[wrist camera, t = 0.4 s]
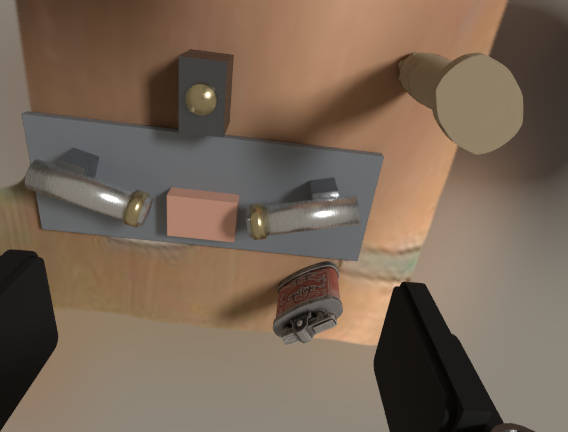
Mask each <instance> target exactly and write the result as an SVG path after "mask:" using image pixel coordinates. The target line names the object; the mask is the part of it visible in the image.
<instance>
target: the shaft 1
mask: <svg viewBox="0 0 568 432" xmlns="http://www.w3.org/2000/svg"><path fill="white" fill-rule="evenodd" d="M98 161H99V156H97V155H94V154H91V153H88V152H85V151H82V150H80V149H77V148H74V147H73V148H72V149H71V150H69V151H68V152H66V153H65V154H64V155H62V156H61V157H59V158H58V159H57V163H56V165H55V164H52V163H50V162H47V161H44V160H41V159H36V160H35V161H34V162H33V163H32V164H31V165H30V167H29V169H28V171H27V173H26V177H25V187H26V188H27V189H29V190H32V191H35V192H38V193H42V194H45V195H48V196H51V197H54V198H57V199H60V200H63V201H66V202H69V203H72V204H75V205H78V206H81V207H84V208H87V209H90V210H93V211H96V212H99V213H102V214H105V215H108V216H112V217H115V218H118V219H121V220H124V224H126V225H129V226H132V227H135V228H138V227H139V226H143V225H144V223H145V221H146V219H147V217H148V214H149V212H150V209H151V205H152V201H153V198H152V197H150V194H149V193H146V192H143V191H141V190H138V189H137V190H136V191H135V192H134V191H131V190H128V189H125V188H122V187H119V186H117V185H114V184H111V183H108V182H105V181H102V180H99V179H96V178H95V176H96V171H97V166H98Z"/></svg>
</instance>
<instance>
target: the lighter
mask: <svg viewBox="0 0 568 432" xmlns="http://www.w3.org/2000/svg"><path fill="white" fill-rule="evenodd" d="M338 278H339V270H338V267H337V266H336V265H335V264H334V263H332V262H323V263H319V264H315V265H312V266H310V267H307V268H304V269H302V270H300V271H298V272H296V273H294V274H292V275H291V276H289V277H288V278H286V279H285V280H283V281H282V282H281V283H280V284H279V287H278V295H279V297H278V305H277V313H276V318H275V319H274V323H273V330H274V332H275V334H276V335H277V336H279V337H281V338H282V342H283V343H284V344H285V345H291V344H293V343H296V342H298V341H301V342H302V343H306V342H309V341H310V340H311V339H312V338H313V336H314V335H315V334H318V333H320V332H323V331H325V330H328V329H330V328H332V327H335V326H336V325H337V318H338V317H340V316H341V314H342V312H343V308H342V303H341V300H340V294H339V284H338Z"/></svg>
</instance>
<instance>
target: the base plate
mask: <svg viewBox="0 0 568 432" xmlns="http://www.w3.org/2000/svg"><path fill="white" fill-rule="evenodd" d="M22 119H23V125H24V130H25V136H26V142H27V147H28V152H29V158H30V164H32V163H33V162H34V161H35V160H36V159H41V160H44V161H47V162H50V163H52V164H55V165H56V163H57V159H58V158H59V157H61V156H62V155H64V154H65V153H66V152H68V151H69V150H71V149H72V148H73V147H74V148H77V149H80V150H82V151H85V152H88V153H91V154H94V155H97V156H99V161H98V166H97V171H96V176H95V178H96V179H99V180H102V181H105V182H108V183H111V184H114V185H117V186H119V187H122V188H125V189H128V190H131V191H134V192H135V191H136V190H137V189H138V190H141V191H143V192H146V193H149V194H150V197H152V198H153V201H152V205H151V209H150V212H149V214H148V217H147V219H146V221H145V223H144V225H143V226H139V227H138V228H135V227H132V226H129V225H126V224H124V220H121V219H118V218H115V217H112V216H108V215H105V214H102V213H99V212H96V211H93V210H90V209H87V208H84V207H81V206H78V205H75V204H72V203H69V202H66V201H63V200H60V199H57V198H54V197H51V196H48V195H45V194H42V193H38V192H36V197H37V203H38V209H39V214H40V220H41V225H42V229H47V230H57V231H67V232H76V233H86V234H96V235H106V236H116V237H125V238H135V239H145V240H155V241H165V242H174V243H184V244H194V245H204V246H214V247H224V248H233V249H243V250H253V251H263V252H273V253H282V254H292V255H302V256H312V257H322V258H331V259H341V260H351V261H358V257H359V253H360V249H361V245H362V241H363V237H364V233H365V229H366V225H367V221H368V217H369V213H370V209H371V205H372V201H373V197H374V194H375V190H376V186H377V182H378V178H379V174H380V170H381V166H382V162H383V158H384V156H383V155H382V153H374V152H366V151H357V150H349V149H340V148H332V147H323V146H315V145H306V144H298V143H290V142H281V141H273V140H264V139H256V138H247V137H239V136H231V135H224V137H223V138H220V137H212V136H203V135H195V134H186V133H179V129H172V128H163V127H155V126H146V125H138V124H129V123H121V122H113V121H104V120H96V119H87V118H79V117H70V116H62V115H53V114H45V113H37V112H28V111H27V112H25V113H22ZM332 177H335V181H336V184H337V188H338V193H339V196H346V195H354V194H355V195H356V197H357V202H358V208H359V225H351V226H343V227H335V228H327V229H318V230H310V231H302V232H294V233H286V234H277V235H269V236H267V239H261V240H254V238H250V237H249V234H248V229H247V223H246V208H249V207H250V205H251V204H259V203H263V205H264V206H267V205H275V204H283V203H291V202H299V201H307V200H312V194H311V186H310V180H316V179H324V178H332Z"/></svg>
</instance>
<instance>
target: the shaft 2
mask: <svg viewBox="0 0 568 432" xmlns="http://www.w3.org/2000/svg"><path fill="white" fill-rule="evenodd" d="M310 186H311V194H312V200H307V201H299V202H291V203H283V204H275V205H267V206H264V205H263V203H259V204H251V205H250V207H249V208H246V223H247V229H248V234H249V237H250V238H254V240H261V239H267V236H269V235H277V234H286V233H294V232H302V231H310V230H318V229H327V228H335V227H343V226H351V225H359V208H358V202H357V197H356V195H355V194H354V195H346V196H339V193H338V188H337V184H336V181H335V177H332V178H324V179H316V180H310Z"/></svg>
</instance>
